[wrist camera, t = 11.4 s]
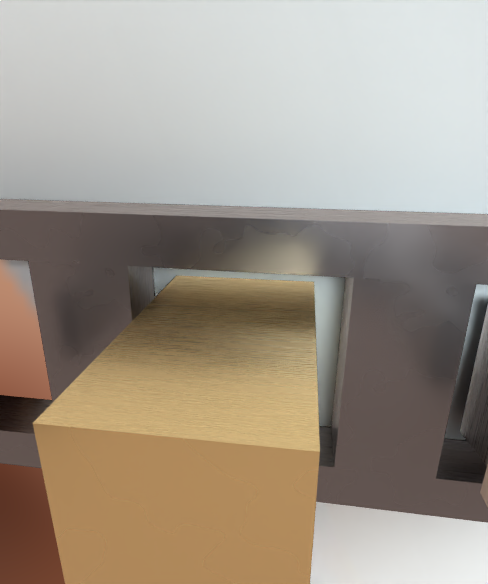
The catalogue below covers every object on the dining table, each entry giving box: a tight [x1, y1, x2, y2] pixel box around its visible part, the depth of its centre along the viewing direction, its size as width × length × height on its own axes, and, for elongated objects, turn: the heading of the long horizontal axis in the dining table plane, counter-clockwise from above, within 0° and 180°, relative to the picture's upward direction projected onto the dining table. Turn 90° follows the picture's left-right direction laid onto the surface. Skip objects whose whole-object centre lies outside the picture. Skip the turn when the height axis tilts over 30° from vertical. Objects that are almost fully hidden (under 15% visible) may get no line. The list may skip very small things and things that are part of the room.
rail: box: [0, 199, 488, 522], centre depth 14 cm, size 30×9×2 cm, turn 89°
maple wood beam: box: [33, 276, 320, 584], centre depth 11 cm, size 5×5×8 cm
